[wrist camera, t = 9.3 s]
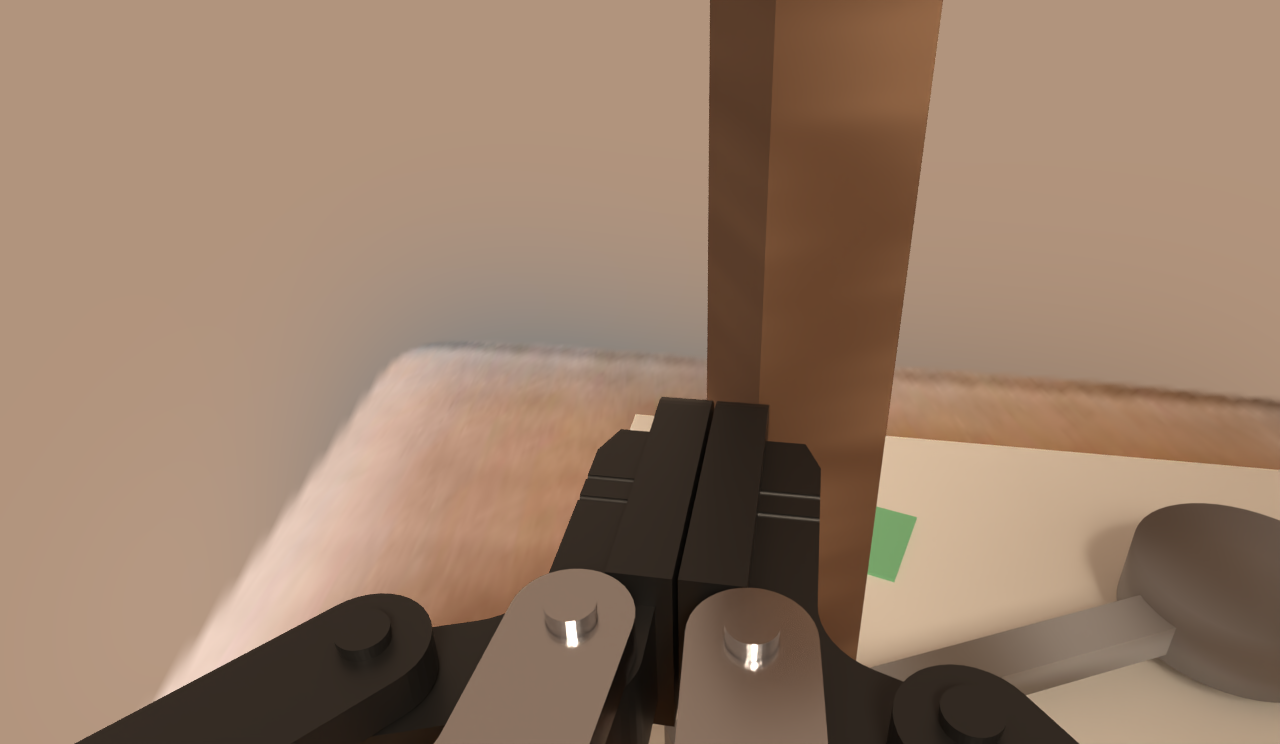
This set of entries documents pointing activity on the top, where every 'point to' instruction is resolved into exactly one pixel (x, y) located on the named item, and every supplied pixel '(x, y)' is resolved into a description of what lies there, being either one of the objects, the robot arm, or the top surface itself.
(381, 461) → the top surface
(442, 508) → the top surface
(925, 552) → the dial plate
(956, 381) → the top surface
